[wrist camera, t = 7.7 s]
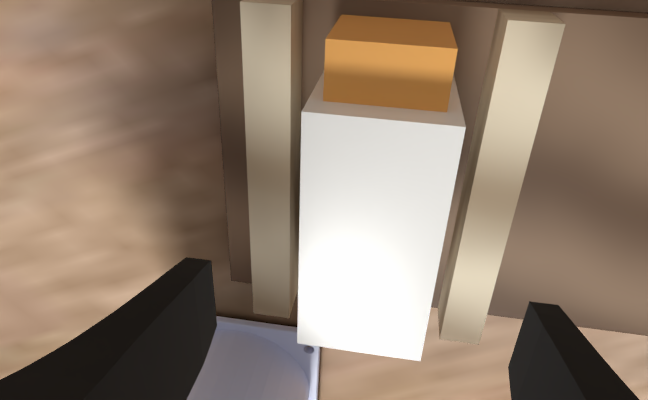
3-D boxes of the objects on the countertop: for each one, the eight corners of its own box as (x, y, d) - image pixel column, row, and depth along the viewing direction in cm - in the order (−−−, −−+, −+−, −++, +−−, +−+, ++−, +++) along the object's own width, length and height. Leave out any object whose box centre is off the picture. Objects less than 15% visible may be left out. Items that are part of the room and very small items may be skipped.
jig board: (758, 334, 21) (803, 389, 18) (237, 266, 23) (217, 308, 21) (954, 32, 15) (1059, 58, 12) (221, -15, 17) (189, -2, 15)
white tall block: (419, 265, 20) (420, 361, 16) (321, 253, 21) (297, 343, 17) (461, 17, 16) (479, 60, 11) (332, 8, 16) (302, 45, 12)
